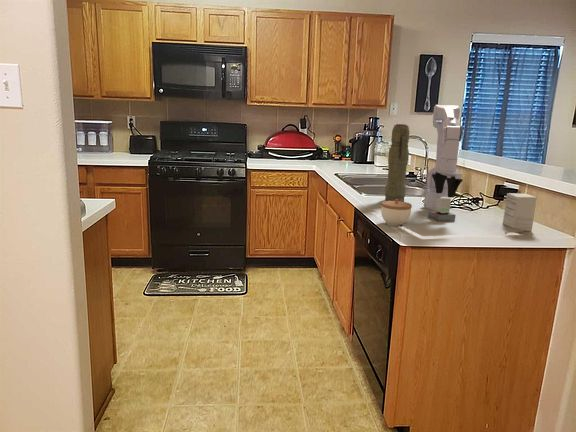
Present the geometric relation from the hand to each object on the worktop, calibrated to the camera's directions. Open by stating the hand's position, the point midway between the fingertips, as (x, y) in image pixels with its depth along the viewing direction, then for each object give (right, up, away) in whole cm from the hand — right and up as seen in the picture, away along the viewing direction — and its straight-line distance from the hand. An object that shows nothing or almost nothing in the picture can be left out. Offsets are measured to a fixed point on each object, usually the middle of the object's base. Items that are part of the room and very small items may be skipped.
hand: (444, 195), depth 166 cm
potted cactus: (-9, -1, +39) cm, 40 cm away
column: (-1, -6, +1) cm, 7 cm away
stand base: (-1, -10, +2) cm, 10 cm away
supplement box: (+25, -13, -4) cm, 28 cm away
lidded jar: (-20, -11, -4) cm, 23 cm away
